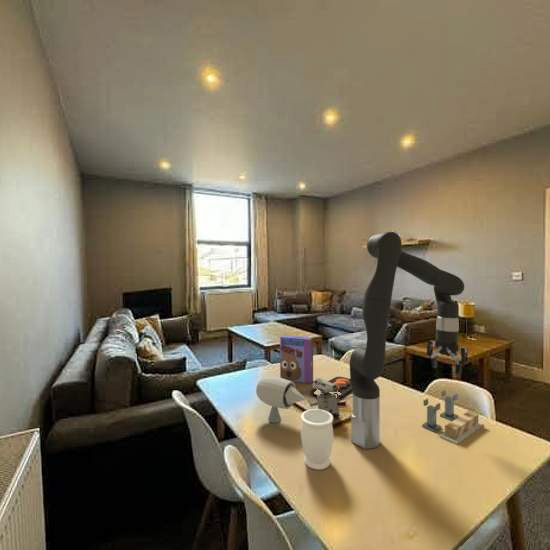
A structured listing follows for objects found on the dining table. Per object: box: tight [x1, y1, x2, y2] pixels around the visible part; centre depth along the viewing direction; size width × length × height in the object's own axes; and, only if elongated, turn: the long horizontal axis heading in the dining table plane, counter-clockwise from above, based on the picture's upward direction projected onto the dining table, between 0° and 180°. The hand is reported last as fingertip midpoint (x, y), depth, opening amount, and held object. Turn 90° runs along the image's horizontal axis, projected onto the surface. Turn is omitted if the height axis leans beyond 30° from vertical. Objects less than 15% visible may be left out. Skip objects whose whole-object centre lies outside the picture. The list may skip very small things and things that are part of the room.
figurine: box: [308, 377, 341, 418], centre depth 129 cm, size 9×12×15 cm
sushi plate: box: [310, 376, 353, 397], centre depth 152 cm, size 29×30×4 cm
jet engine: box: [255, 376, 306, 423], centre depth 125 cm, size 15×20×18 cm
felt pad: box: [439, 421, 484, 445], centre depth 117 cm, size 22×6×1 cm, turn 125°
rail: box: [444, 410, 479, 439], centre depth 117 cm, size 19×4×4 cm, turn 125°
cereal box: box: [279, 334, 314, 385], centre depth 169 cm, size 17×5×24 cm, turn 67°
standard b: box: [439, 390, 460, 422], centre depth 128 cm, size 5×5×10 cm
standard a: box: [421, 398, 442, 433], centre depth 119 cm, size 5×5×10 cm
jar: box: [300, 408, 334, 471], centre depth 99 cm, size 11×10×15 cm
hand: (445, 370), depth 118 cm, fingers open, 8 cm apart
